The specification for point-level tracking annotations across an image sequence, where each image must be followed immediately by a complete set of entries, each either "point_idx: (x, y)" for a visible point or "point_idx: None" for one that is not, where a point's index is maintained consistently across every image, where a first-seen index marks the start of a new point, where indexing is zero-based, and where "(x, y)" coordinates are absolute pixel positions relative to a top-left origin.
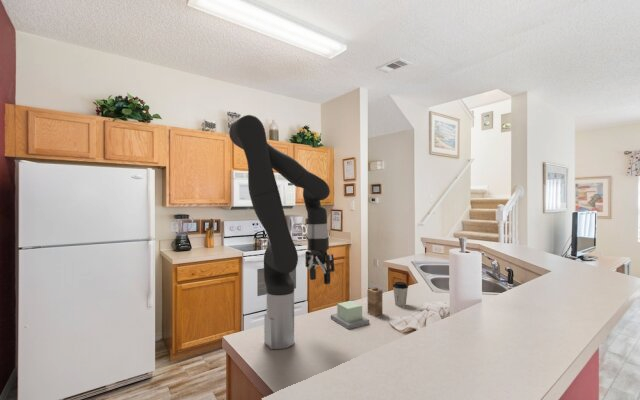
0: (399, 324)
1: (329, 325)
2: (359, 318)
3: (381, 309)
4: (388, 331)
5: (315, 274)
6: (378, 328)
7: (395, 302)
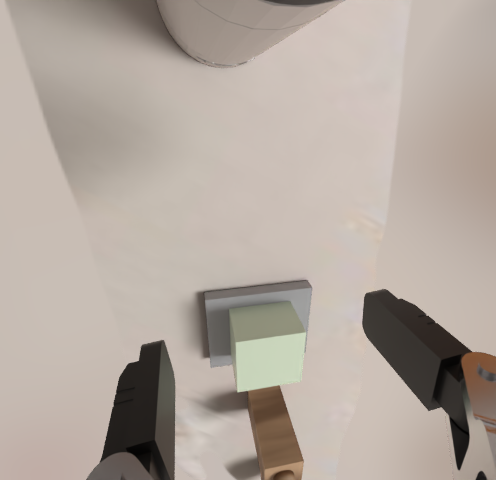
0: None
1: (263, 253)
2: (230, 348)
3: (250, 420)
4: None
5: (389, 360)
6: None
7: None
